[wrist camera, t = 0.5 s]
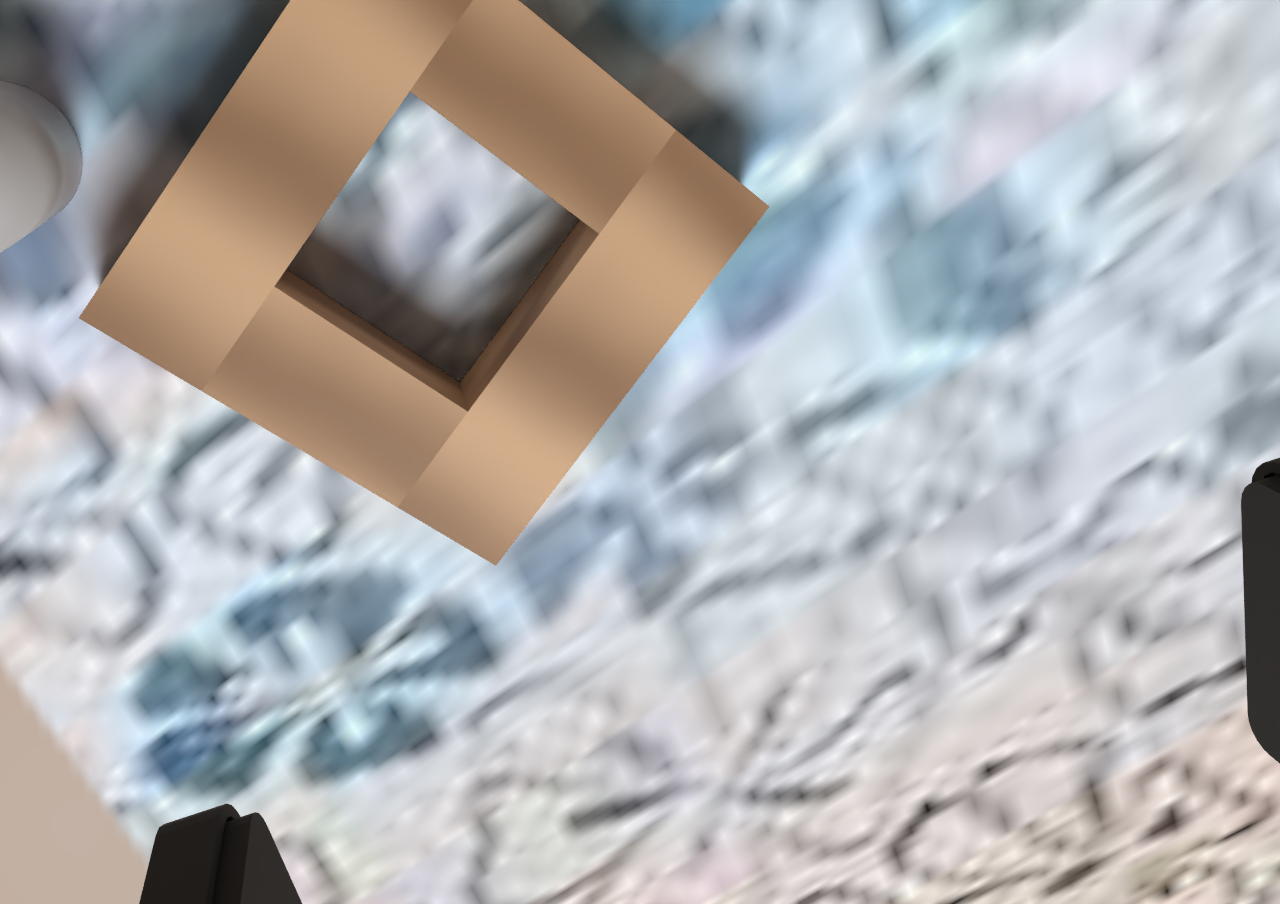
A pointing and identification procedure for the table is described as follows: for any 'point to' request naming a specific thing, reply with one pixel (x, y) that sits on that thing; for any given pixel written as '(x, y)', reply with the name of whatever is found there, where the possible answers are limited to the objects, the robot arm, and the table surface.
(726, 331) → the table surface
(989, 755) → the table surface
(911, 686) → the table surface
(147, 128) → the table surface
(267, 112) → the holder
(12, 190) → the short grey peg
